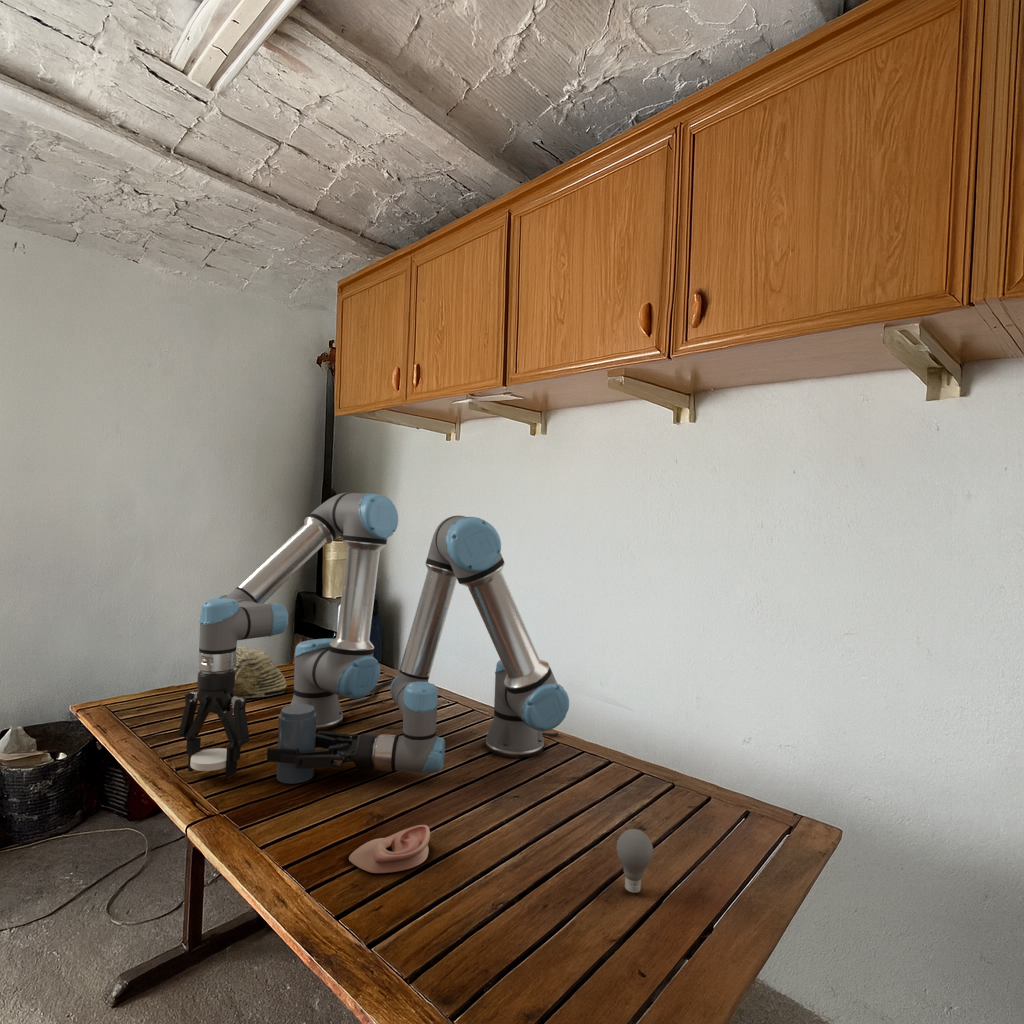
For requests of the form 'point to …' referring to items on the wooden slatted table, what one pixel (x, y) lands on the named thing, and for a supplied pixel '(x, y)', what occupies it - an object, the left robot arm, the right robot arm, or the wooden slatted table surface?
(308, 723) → the jar
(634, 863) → the light bulb
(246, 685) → the fossil
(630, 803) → the wooden slatted table surface
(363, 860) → the anatomical model
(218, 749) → the lid
